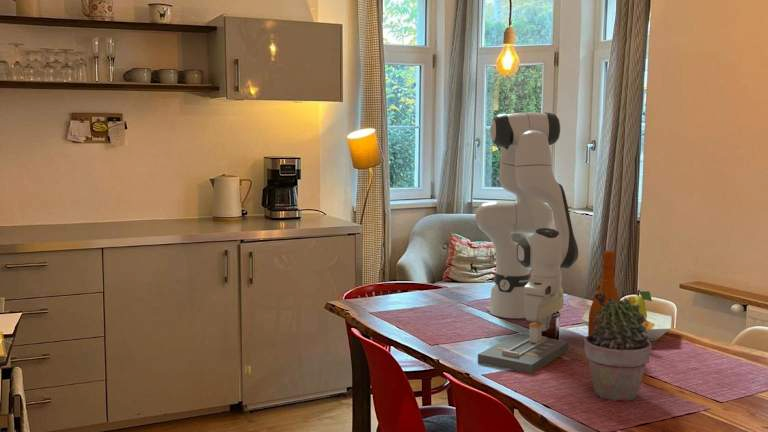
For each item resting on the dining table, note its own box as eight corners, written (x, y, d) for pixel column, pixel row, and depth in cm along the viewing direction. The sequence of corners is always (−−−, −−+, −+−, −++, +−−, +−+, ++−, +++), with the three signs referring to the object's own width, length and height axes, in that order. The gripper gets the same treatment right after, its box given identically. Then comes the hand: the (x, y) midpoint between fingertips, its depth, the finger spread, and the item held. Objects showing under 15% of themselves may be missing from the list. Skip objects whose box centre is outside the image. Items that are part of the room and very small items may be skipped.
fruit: (693, 337, 238) (695, 291, 236) (645, 352, 222) (647, 304, 220) (610, 317, 261) (611, 275, 259) (561, 330, 245) (562, 286, 243)
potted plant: (651, 414, 175) (657, 307, 172) (568, 398, 185) (571, 296, 182) (669, 391, 190) (674, 292, 187) (590, 377, 200) (594, 283, 197)
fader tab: (533, 339, 225) (533, 321, 225) (542, 340, 224) (542, 323, 223) (528, 341, 223) (528, 324, 222) (537, 343, 221) (537, 325, 220)
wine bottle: (623, 351, 223) (628, 248, 219) (622, 361, 214) (627, 254, 210) (588, 347, 226) (592, 246, 222) (586, 357, 217) (590, 252, 213)
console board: (518, 340, 233) (519, 328, 233) (569, 349, 224) (569, 337, 223) (477, 362, 212) (478, 349, 212) (531, 373, 203) (531, 360, 202)
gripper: (549, 277, 237) (548, 320, 238) (521, 288, 220) (519, 335, 222) (569, 279, 233) (568, 323, 235) (541, 291, 216) (540, 339, 218)
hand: (544, 329), depth 228 cm, fingers closed
